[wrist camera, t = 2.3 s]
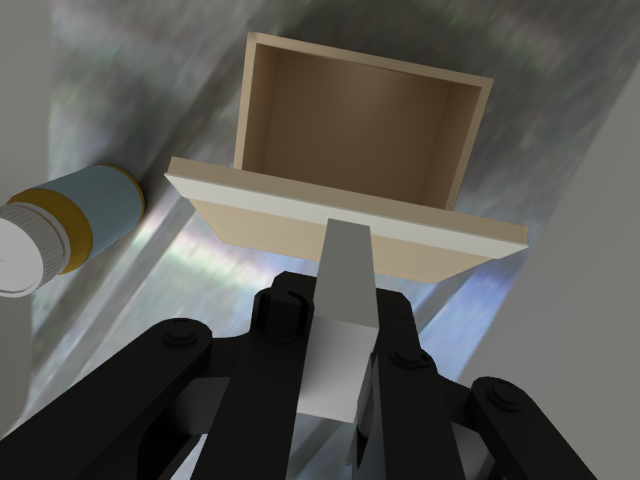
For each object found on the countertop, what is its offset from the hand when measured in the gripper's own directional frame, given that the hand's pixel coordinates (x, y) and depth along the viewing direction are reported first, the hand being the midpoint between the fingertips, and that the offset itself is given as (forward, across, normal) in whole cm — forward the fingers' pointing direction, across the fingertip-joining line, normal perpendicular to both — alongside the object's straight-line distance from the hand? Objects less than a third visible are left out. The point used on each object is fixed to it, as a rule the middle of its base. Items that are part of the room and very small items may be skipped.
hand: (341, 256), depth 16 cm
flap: (+10, 0, +3) cm, 10 cm away
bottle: (+26, +22, +10) cm, 35 cm away
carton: (+26, 0, 0) cm, 26 cm away
